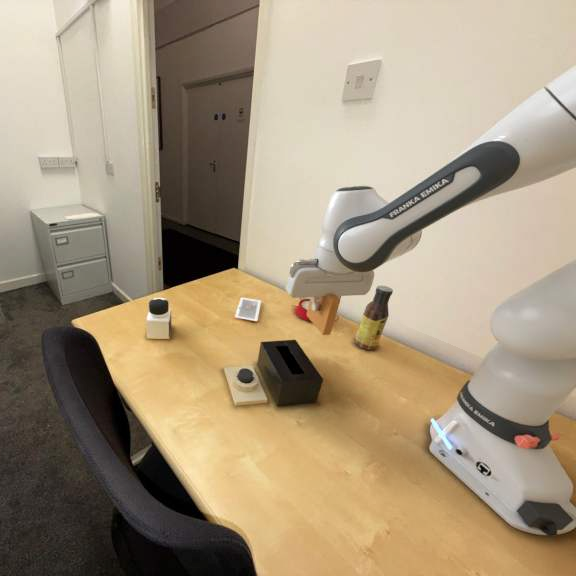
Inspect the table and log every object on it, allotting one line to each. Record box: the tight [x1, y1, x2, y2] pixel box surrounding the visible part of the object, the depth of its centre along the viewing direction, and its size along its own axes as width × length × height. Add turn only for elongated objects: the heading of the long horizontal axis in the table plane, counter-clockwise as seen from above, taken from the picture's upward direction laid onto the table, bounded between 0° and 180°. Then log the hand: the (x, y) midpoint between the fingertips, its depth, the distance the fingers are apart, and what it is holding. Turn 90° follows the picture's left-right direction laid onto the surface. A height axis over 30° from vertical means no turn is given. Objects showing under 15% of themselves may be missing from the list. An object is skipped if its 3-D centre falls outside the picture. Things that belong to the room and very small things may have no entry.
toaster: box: [256, 339, 324, 408], centre depth 77 cm, size 15×10×8 cm, turn 8°
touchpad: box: [234, 296, 262, 322], centre depth 110 cm, size 8×15×2 cm, turn 163°
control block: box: [223, 365, 268, 406], centre depth 77 cm, size 12×8×3 cm, turn 8°
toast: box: [306, 294, 341, 336], centre depth 75 cm, size 9×2×10 cm, turn 7°
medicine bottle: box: [145, 297, 172, 340], centre depth 94 cm, size 7×7×12 cm
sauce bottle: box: [354, 285, 394, 351], centre depth 89 cm, size 7×6×20 cm
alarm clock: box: [291, 298, 340, 323], centre depth 107 cm, size 10×6×15 cm
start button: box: [238, 368, 253, 384], centre depth 76 cm, size 4×4×2 cm
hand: (321, 309), depth 75 cm, fingers closed on toast, 2 cm apart
